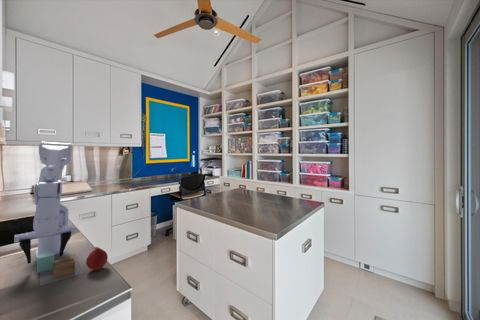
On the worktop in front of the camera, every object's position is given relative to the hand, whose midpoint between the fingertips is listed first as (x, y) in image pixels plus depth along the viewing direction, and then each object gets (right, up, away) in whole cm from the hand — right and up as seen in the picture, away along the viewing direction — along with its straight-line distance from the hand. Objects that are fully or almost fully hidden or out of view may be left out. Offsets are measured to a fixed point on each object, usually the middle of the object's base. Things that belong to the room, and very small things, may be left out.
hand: (45, 258), depth 68 cm
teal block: (0, -4, 0) cm, 4 cm away
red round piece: (+17, -4, 0) cm, 17 cm away
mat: (+7, -4, -2) cm, 9 cm away
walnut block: (+8, -3, -2) cm, 9 cm away
